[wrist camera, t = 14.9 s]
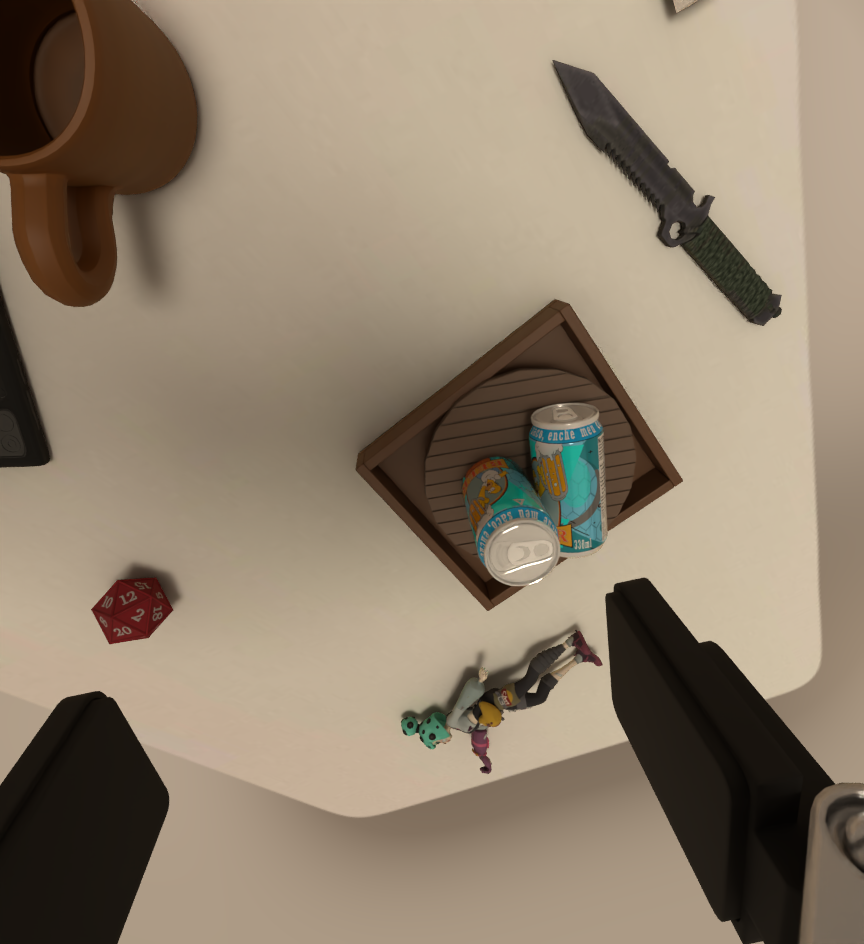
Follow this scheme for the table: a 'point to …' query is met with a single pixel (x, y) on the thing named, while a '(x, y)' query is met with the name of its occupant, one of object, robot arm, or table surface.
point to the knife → (667, 194)
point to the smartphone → (17, 408)
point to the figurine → (497, 700)
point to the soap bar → (683, 4)
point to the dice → (132, 609)
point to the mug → (85, 131)
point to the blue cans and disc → (529, 471)
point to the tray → (530, 346)
